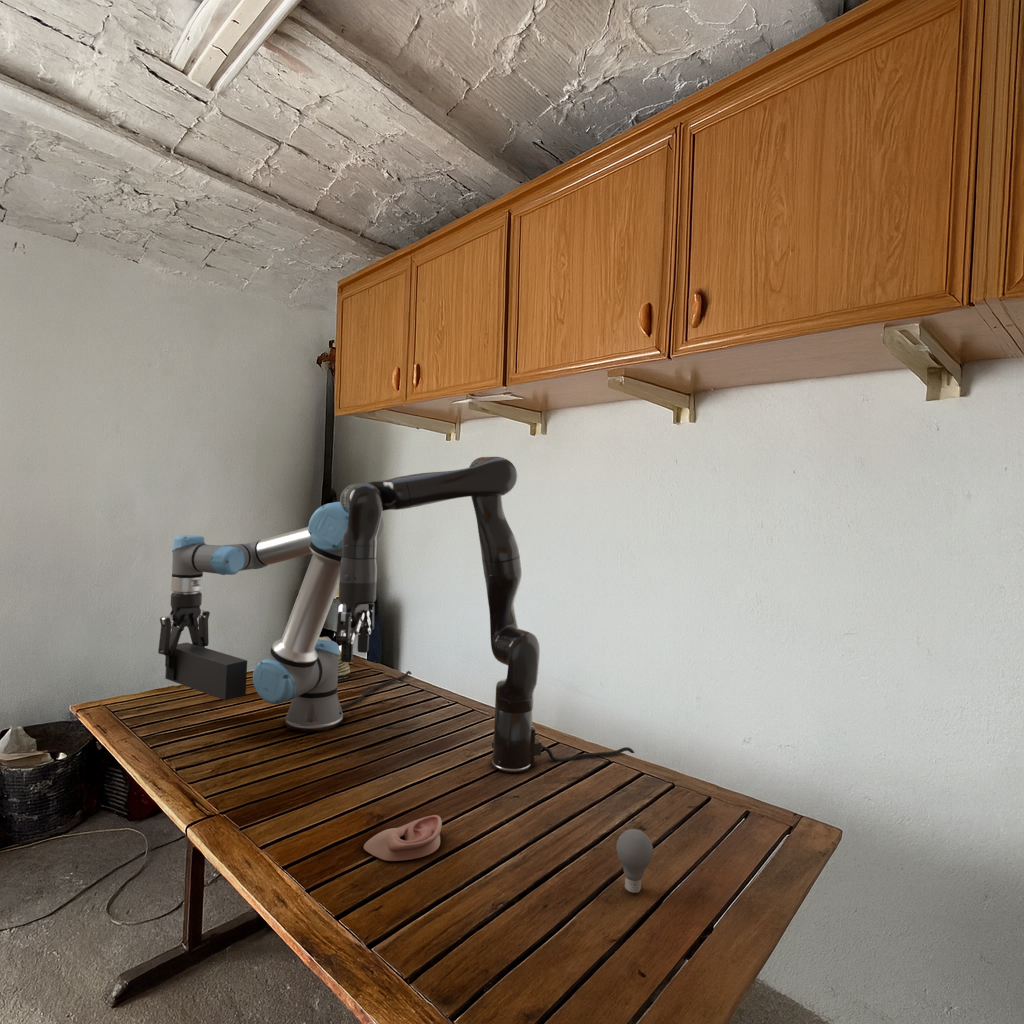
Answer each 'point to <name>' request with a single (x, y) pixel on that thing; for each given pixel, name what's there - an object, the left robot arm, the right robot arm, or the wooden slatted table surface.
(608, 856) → the wooden slatted table surface
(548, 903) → the wooden slatted table surface
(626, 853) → the light bulb
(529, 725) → the right robot arm
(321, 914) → the wooden slatted table surface
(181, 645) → the bar
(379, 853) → the anatomical model
